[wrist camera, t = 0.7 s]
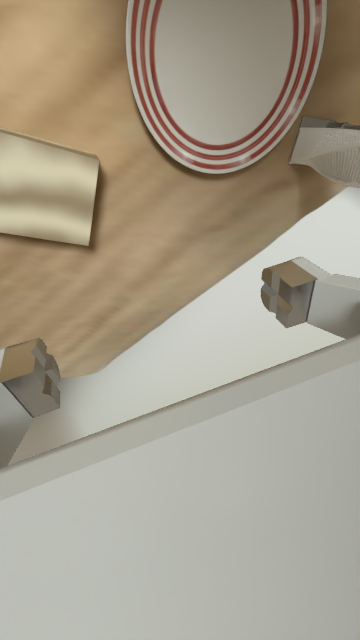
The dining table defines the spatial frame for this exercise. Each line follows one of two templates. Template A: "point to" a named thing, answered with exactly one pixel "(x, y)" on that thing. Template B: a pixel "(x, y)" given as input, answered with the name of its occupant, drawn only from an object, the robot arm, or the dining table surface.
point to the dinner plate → (222, 74)
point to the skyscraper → (329, 150)
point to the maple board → (46, 188)
